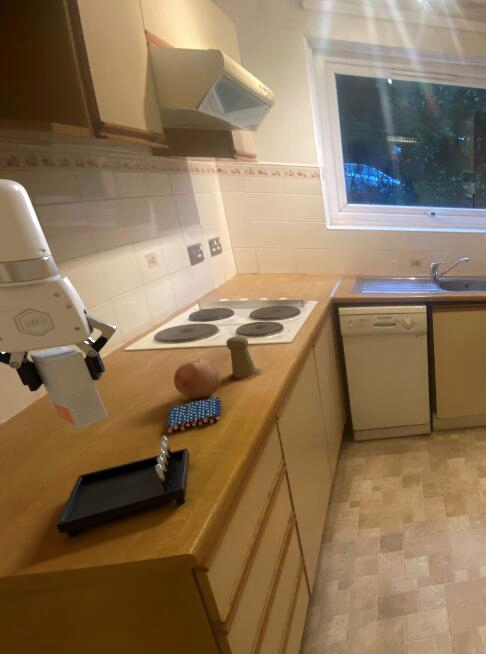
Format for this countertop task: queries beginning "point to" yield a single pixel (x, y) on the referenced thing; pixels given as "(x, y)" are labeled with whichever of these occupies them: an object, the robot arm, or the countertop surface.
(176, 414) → the woven mat
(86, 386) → the cosmetic box
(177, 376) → the onion
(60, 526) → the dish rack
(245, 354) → the pepper mill
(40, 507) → the countertop surface
